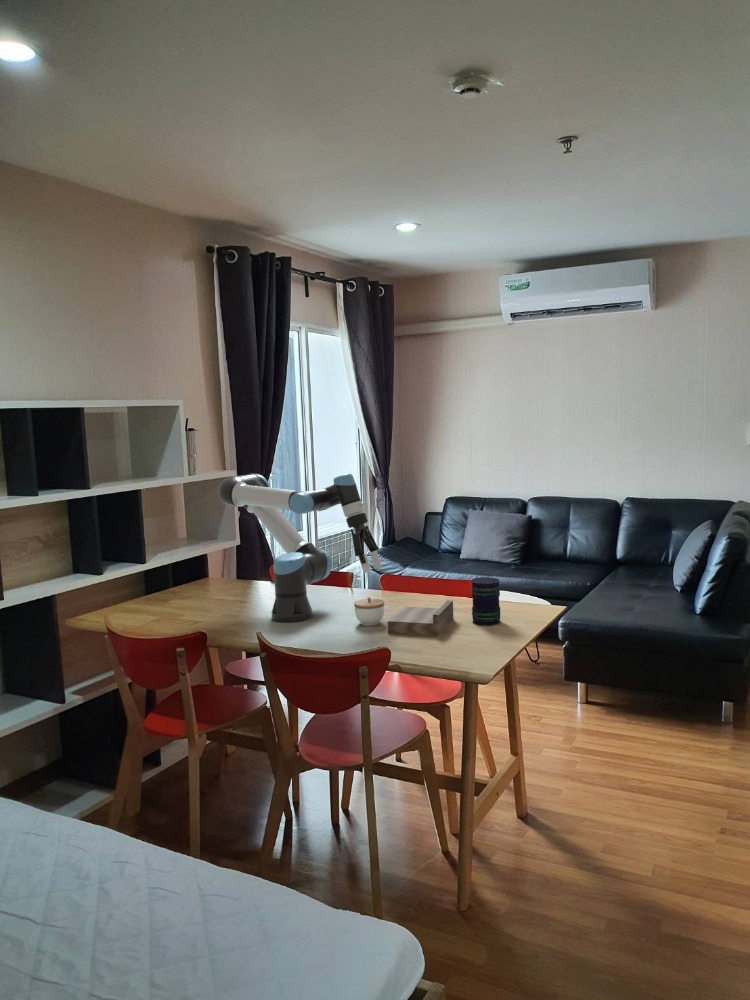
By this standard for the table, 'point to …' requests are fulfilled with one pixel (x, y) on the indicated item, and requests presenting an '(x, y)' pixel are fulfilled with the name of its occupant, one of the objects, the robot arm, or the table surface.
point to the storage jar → (485, 601)
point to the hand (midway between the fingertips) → (373, 570)
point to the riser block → (422, 620)
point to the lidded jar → (369, 611)
